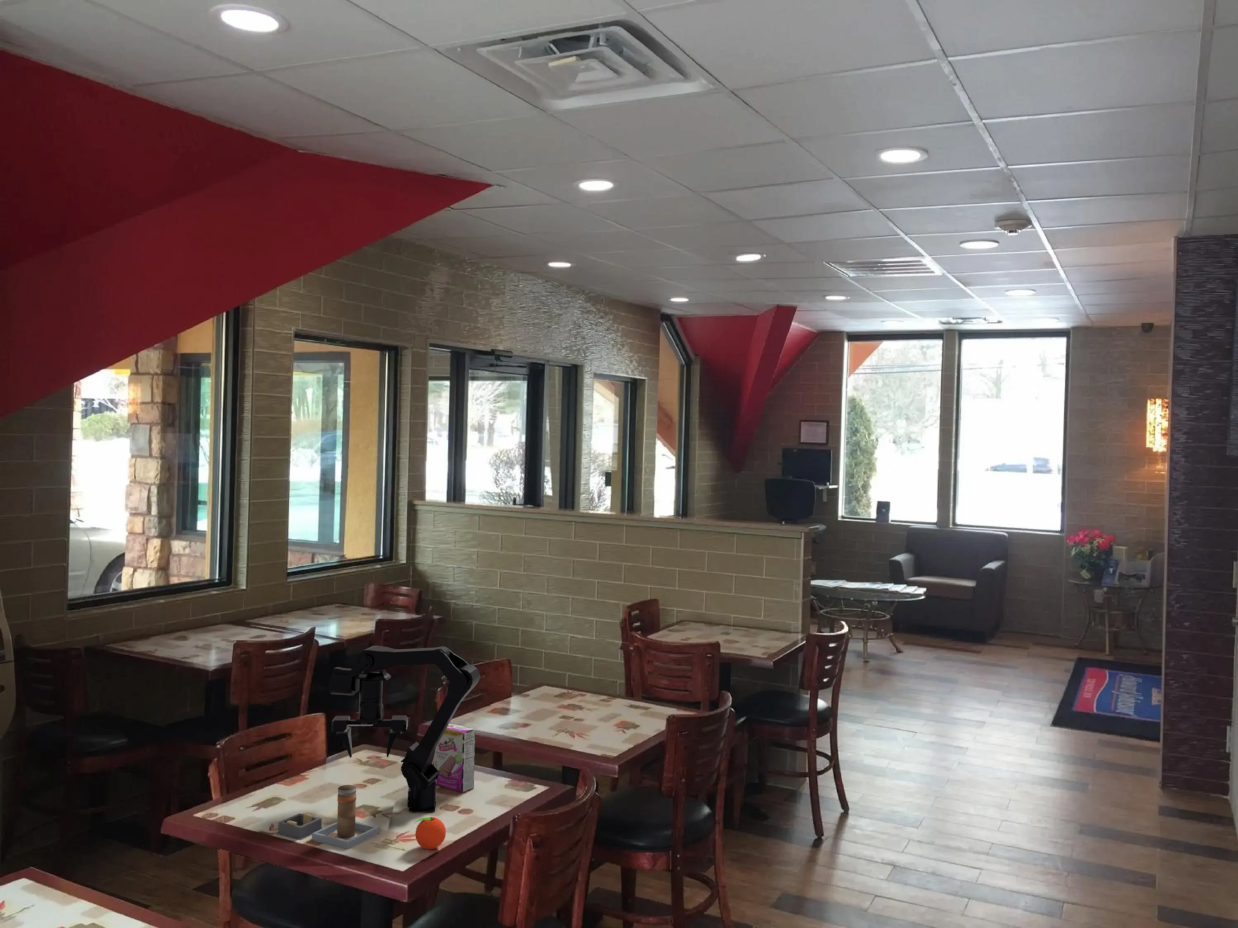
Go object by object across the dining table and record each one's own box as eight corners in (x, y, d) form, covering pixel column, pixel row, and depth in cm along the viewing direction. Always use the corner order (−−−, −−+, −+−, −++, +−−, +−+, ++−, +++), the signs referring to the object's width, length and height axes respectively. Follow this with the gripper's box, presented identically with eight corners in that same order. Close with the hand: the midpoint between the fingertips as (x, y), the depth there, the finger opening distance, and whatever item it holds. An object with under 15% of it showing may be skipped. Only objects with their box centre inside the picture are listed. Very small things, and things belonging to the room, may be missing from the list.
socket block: (299, 828, 241) (299, 809, 241) (324, 834, 237) (325, 815, 237) (274, 839, 234) (274, 820, 234) (300, 846, 230) (300, 826, 230)
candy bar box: (431, 785, 274) (432, 724, 274) (443, 780, 279) (445, 721, 278) (462, 793, 268) (464, 732, 268) (474, 788, 273) (476, 727, 272)
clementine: (407, 853, 228) (408, 822, 228) (413, 841, 235) (414, 811, 235) (442, 854, 228) (443, 823, 228) (447, 842, 235) (448, 812, 235)
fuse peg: (353, 834, 236) (354, 783, 236) (357, 841, 232) (358, 789, 232) (334, 837, 234) (336, 785, 234) (338, 843, 230) (339, 791, 230)
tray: (343, 830, 240) (343, 818, 240) (378, 839, 235) (379, 826, 235) (311, 846, 230) (312, 833, 230) (348, 855, 226) (348, 841, 226)
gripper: (410, 688, 268) (408, 747, 268) (338, 688, 265) (336, 747, 266) (406, 699, 257) (405, 760, 257) (331, 699, 254) (330, 760, 255)
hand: (369, 756), depth 259 cm, fingers open, 9 cm apart
